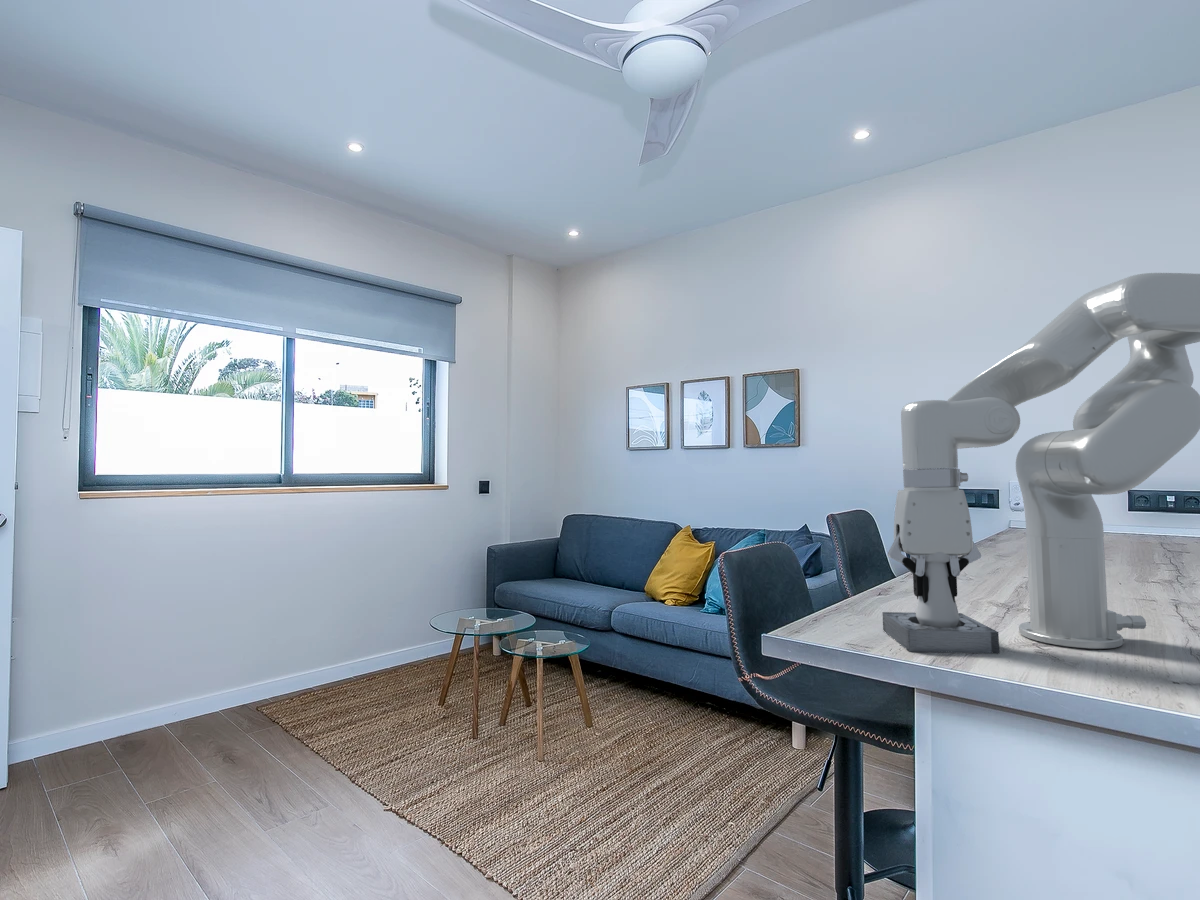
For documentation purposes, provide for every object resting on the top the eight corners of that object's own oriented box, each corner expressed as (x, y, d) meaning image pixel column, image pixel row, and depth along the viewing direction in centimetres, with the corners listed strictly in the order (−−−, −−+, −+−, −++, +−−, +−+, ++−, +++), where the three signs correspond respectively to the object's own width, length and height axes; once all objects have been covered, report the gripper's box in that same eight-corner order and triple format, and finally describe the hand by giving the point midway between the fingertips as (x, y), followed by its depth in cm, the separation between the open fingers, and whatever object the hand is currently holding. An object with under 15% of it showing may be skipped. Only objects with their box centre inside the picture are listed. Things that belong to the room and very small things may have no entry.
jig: (961, 631, 98) (961, 613, 98) (999, 653, 86) (998, 632, 87) (883, 630, 100) (882, 612, 100) (909, 651, 88) (908, 630, 88)
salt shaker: (949, 627, 96) (945, 543, 96) (967, 636, 90) (963, 547, 91) (910, 626, 96) (906, 544, 97) (925, 636, 91) (921, 548, 91)
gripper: (976, 479, 97) (981, 597, 96) (867, 481, 99) (872, 596, 98) (1000, 480, 89) (1006, 607, 89) (882, 482, 92) (887, 605, 91)
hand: (935, 600), depth 93 cm, fingers closed on salt shaker, 3 cm apart
